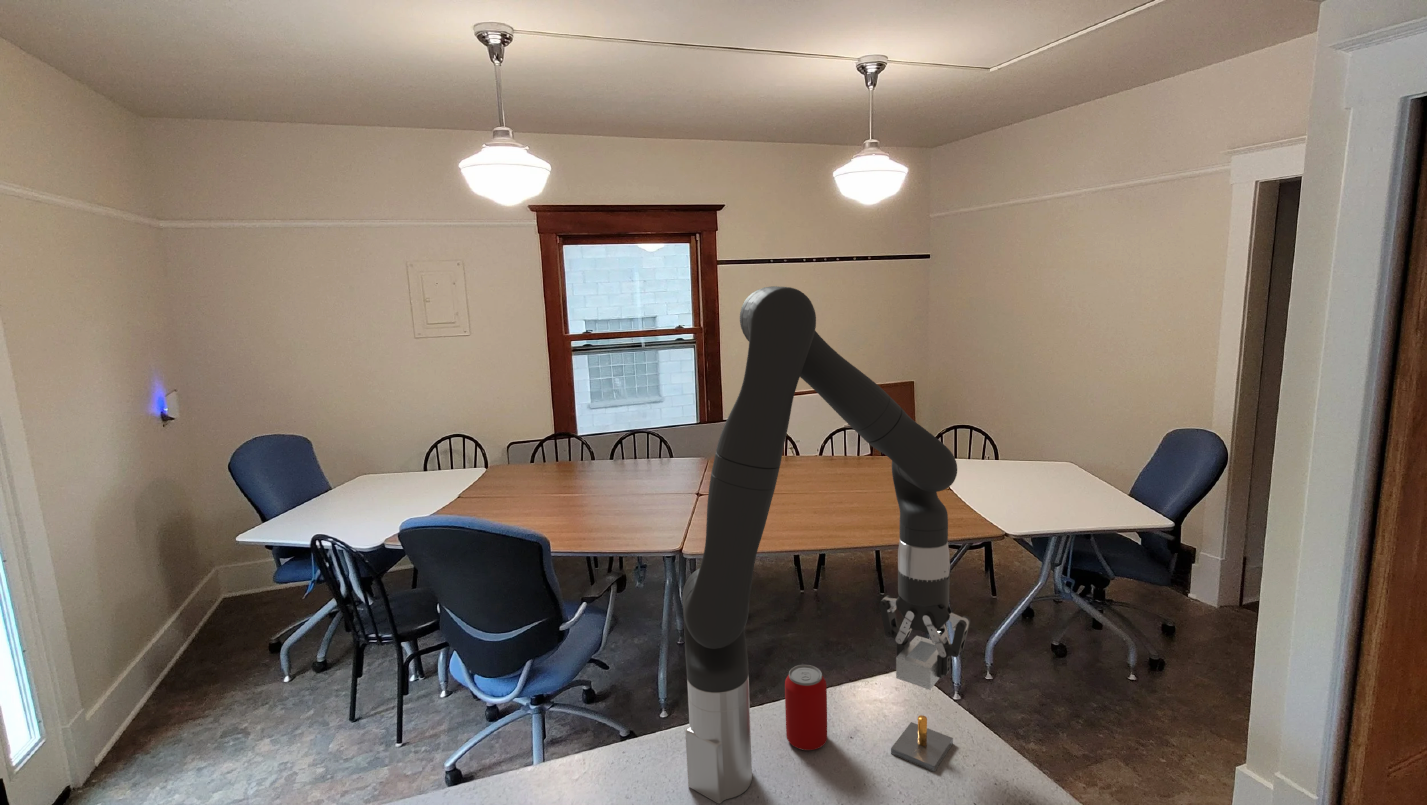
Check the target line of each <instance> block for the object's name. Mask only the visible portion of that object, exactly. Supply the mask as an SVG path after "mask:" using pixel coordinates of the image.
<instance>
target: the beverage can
mask: <svg viewBox="0 0 1427 805" xmlns="http://www.w3.org/2000/svg"><path fill="white" fill-rule="evenodd" d="M827 695H828V693H827V682H826V679H825V677H824V676H823V673H822V671H821V670H820V668H818V667H816V666H814V665H810V664H798V665H795V666H794V667H791V669H790V670H789V672H788V675H787V676H786V678H785V680H784V703H785V706H784V707H785V708H784V709H785V732H786V733H785V735H786V740H787V742H788V743H789V744H790V745H791V746H793V747H795V748H797V749H800V750H802V749H803V751H812V750H813V751H814V750H817V749H820V748H821V747H823V746H824V745H825V744H826V742H827V741H828V696H827Z"/></svg>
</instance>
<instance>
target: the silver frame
mask: <svg viewBox="0 0 1427 805" xmlns="http://www.w3.org/2000/svg"><path fill="white" fill-rule="evenodd" d="M938 654H939V653H938V651H937V648H936V645H935V643H933V642H932V640H931V638H930V639H929V638H926V637H923V636H920V635H915V636H914V638H913V639H912V640H911V641H910V644H909V645H908V646H907V647H906V648H905V649H904V650H903V651H902V652H901V653H900V654H899V655H898V656H897V655H896V657H895V678H896V679H897V680H901V681H904V682H905V683H906V682H907V683H909V684H911V685H916V686H918V687H921V688H924V689H927V690H930V691H931V690H932V689H933V687H934V686H935V685H936V683H937V682H938V681H939V680H940V678H939V677H937V656H938Z"/></svg>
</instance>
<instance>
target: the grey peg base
mask: <svg viewBox="0 0 1427 805" xmlns="http://www.w3.org/2000/svg"><path fill="white" fill-rule="evenodd" d="M953 743H954V738H953V737H951V736H949V735H946V734H943V733H941V732H939V731H936V730H933V729H931V728H928V717H927V716H925V715H924V714H923V715H922V714H921V715H918V716H917V723H915V722H913V721H911V722H910V723H909V724H908V726H907V727H906V728H905V729H904V730H903V732H902V734H901V735H900V736H899V737H898V738H897V740H895V743H894V744H893V745H892V746H891V748H890V754H891V755H892V756H895V757H897V758H900V759H902V760H904V761H907V762H910V763H912V764H914V765H917V766H919V767H921V768H924V769H926V770H929V771H931V772H933V773H935V772H936V770H937V769H938V768H939V766H940V764H941V762H942V761H943V760H944V758H945V757H946V755H947V753H948V752H949V750H950V749H951V747H952V745H954V744H953Z"/></svg>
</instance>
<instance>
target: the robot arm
mask: <svg viewBox="0 0 1427 805" xmlns="http://www.w3.org/2000/svg"><path fill="white" fill-rule="evenodd" d="M739 324H740V328H741V331H742V334H743V335H744V337H745V338H746V340H747V341H748V350H747V357H746V364H745V370H744V375H743V376H744V377H743V380H742V384H741V388H740V391H739V393H738V396H737V398H736V400H735V402H734V405H733V406H732V408H731V411H730V413H729V414H728V417H727V419H726V421H725V424H724V426H723V428H722V430H721V433H720V435H719V438H718V439H719V440H718V442H717V446H716V449H715V454H714V459H713V463H712V468H711V474H710V479H709V487H708V494H707V507H706V528H705V529H706V530H705V543H704V551H703V555H702V560H701V563H700V567H699V568H697V569H696V570H695V571H694V572H692V573H691V574H690V575H689V577H688V578H687V580H686V581H685V583H684V586H683V589H682V611H683V612H682V613H683V628H684V631H683V633H684V651H685V665H686V666H685V668H686V682H687V683H686V684H687V704H688V721H689V727H687V728H686V730H684V732H685V734H684V735H685V748H686V752H685V753H686V766H687V767H686V768H687V786H688V787H689V788H690V789H692V790H694V791H695V792H697V793H699V794H701V795H702V796H704V797H706V798H708V799H710V800H711V801H713V802H715V803H716V804H719V805H720V804H722V802H723V801H725V800H729V799H733V798H736V797H738V796H741V795H742V794H743V793H744V792H746V791H747V789H748V788H750V785H751V783H752V781H753V766H752V765H753V763H752V762H753V761H752V758H753V757H752V740H751V739H752V738H751V737H752V736H751V735H752V734H751V712H750V710H751V707H750V680H749V679H750V678H749V675H750V674H749V658H748V657H749V656H748V649H747V647H748V646H747V640H746V638H747V637H746V629H745V628H746V627H747V622H748V619H749V614H750V613H749V611H750V601H751V594H752V593H751V592H752V585H753V584H752V583H753V576H754V570H755V564H756V559H757V555H758V554H757V553H758V550H759V546H760V545H761V544H760V543H761V541H762V537H763V534H764V531H765V528H766V523H767V520H768V516H769V513H770V508H771V504H772V501H773V497H774V495H775V489H776V485H777V482H778V477H779V473H780V468H781V464H782V458H783V452H784V447H785V442H786V439H787V434H788V430H789V429H788V428H789V426H790V425H789V424H790V418H791V412H792V407H793V402H794V397H795V395H796V394H795V393H796V389H797V387H798V383H799V380H800V378H801V380H803V381H804V382H805V383H806V384H808V385H809V387H811V388H812V389H813V390H814V391H815V392H816V393H817V394H818V395H819V396H820V397H821V398H822V399H823V400H824V402H826V403H827V405H829V407H831V408H832V410H833V411H834V412H836V414H838V416H839V417H840V418H842V420H844V422H845V423H847V425H849V427H850V428H851V429H852V430H854V431H855V432H856V433H857V434H858V435H859V436H860V437H861V438H862V439H863V440H864V441H866V443H867V444H869V445H870V446H871V447H872V448H873V449H874V450H877V451H878V452H880V453H882V454H884V455H885V456H886V457H888V458H889V459H890V460H891V473H892V474H891V476H892V481H893V487H894V491H895V497H896V500H897V504H898V508H899V542H898V549H897V593H898V597H897V598H893V597H892V596H891V595H889V594H888V595H886V596H884V597H883V598H882V599H881V600H880V601H879V603H878V605H879V610H880V614H881V619H882V624H883V626H882V627H883V631H884V634H885V636H886V637H888V638H892V639H893V640H895V642H896V657H897V656H898V655H899V654H900V653H901V652H902V651H903V650H904V649H905V648H906V647H907V646H908V645H909V644H910V642H911V641H910V639H909V637H910V634H911V632H912V630H913V631H921V632H923V633H924V634H926V635H927V634H928V635H929V636H930V640H932V642H933V643H935V645H936V648H937V651H938V653H939V654H938V656H937V677H939V679H943V678H944V677H946V676H947V675H948V674H949V672H950V670H951V657H953V658H957V657H959V655H960V654H961V652H962V651H963V650H964V648H965V644H966V641H967V636H968V632H969V628H970V624H971V618H970V617H969V616H968V615H962V616H960V615H959V614H956V613H954V612H952V609H951V606H950V571H951V563H950V550H949V516H948V510H947V508H946V506H945V505H944V503H943V502H942V501H941V500H940V498H939V496H938V493H939V492H943V491H944V490H947V489H948V488H949V487H951V486H952V485H953V484H954V482H955V480H956V478H957V475H958V463H957V460H956V458H955V455H954V454H953V453H952V451H951V450H950V449H949V448H948V447H947V445H945V444H944V443H943V442H942V441H940V440H939V439H938V438H937V437H936V436H934V435H933V434H932V433H931V432H930V431H928V430H927V429H925V428H924V427H923V426H921V424H919V423H918V422H916V421H915V420H914V419H912V418H911V417H910V416H909V415H908V414H907V412H906V411H905V410H904V409H903V408H902V407H901V406H900V404H898V403H897V402H896V401H895V399H893V398H892V397H891V396H890V395H889V394H888V393H887V392H886V391H885V390H884V389H883V388H882V387H880V385H878V384H877V383H876V382H875V381H873V380H872V379H871V378H870V377H869V376H867V375H866V374H864V372H862V371H861V370H859V369H858V368H857V367H856V366H855V365H853V364H852V363H850V362H849V361H848V360H847V359H845V358H844V357H843V356H841V354H839V353H838V351H836V350H835V349H834V348H833V347H831V346H830V344H828V342H826V341H825V340H824V339H823V337H821V335H820V334H819V333H818V332H817V331H816V327H817V315H816V310H815V307H814V305H813V303H812V301H811V300H810V298H809V297H808V296H807V295H806V294H805V293H803V292H802V291H801V290H799V289H796V288H794V287H791V286H777V285H776V286H765V287H762V288H760V289H759V288H758V289H756V291H753V292H751V294H749V295H748V296H747V297H746V298H745V300H744V302H743V304H742V306H741V308H740V314H739ZM896 610H898V611H899V613H900V614H901V616H902V618H903V620H902V623H901V625H900V627H899V624H898V620H897V615H896ZM948 621H949V622H950V623H951V628H952V631H954V635H953V638H952V643H951V641H950V638H949V631H948V628H947V626H946V624H947V622H948Z"/></svg>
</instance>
